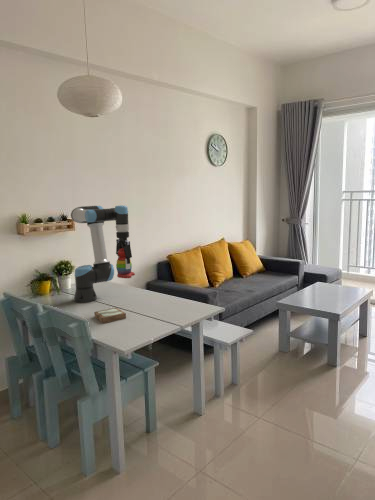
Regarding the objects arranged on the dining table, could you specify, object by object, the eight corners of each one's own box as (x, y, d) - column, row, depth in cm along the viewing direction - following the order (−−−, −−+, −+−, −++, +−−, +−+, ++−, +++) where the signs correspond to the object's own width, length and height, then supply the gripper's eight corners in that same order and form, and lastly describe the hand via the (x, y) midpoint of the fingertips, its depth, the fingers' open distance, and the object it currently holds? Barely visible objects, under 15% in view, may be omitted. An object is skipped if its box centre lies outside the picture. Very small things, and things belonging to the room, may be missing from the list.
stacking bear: (130, 278, 230) (128, 249, 227) (114, 278, 232) (112, 249, 229) (135, 274, 241) (134, 246, 238) (120, 274, 242) (118, 246, 239)
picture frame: (94, 316, 230) (94, 311, 229) (116, 312, 237) (116, 307, 237) (103, 323, 218) (103, 318, 218) (126, 318, 226) (125, 313, 225)
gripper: (109, 230, 238) (111, 265, 242) (125, 233, 221) (127, 271, 224) (120, 229, 243) (121, 263, 246) (136, 232, 225) (138, 269, 229)
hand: (124, 267), depth 235 cm, fingers closed on stacking bear, 9 cm apart
